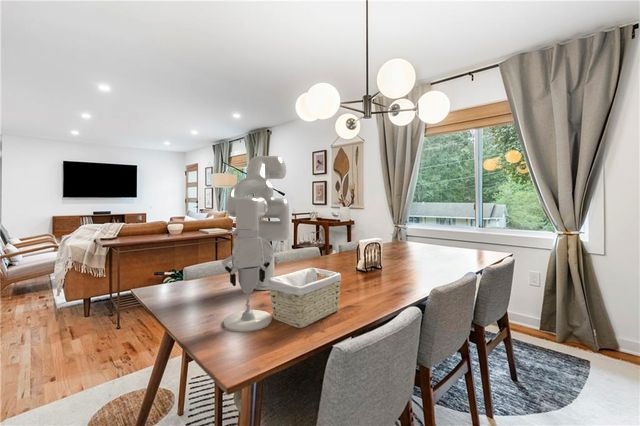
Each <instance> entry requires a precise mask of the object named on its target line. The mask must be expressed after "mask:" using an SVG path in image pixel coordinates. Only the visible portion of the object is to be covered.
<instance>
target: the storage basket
mask: <svg viewBox="0 0 640 426" xmlns="http://www.w3.org/2000/svg"><path fill="white" fill-rule="evenodd" d="M319 277H323V279H319ZM341 281H342V275H341V273H340V272H336V271H332V270H327V269H322V268H317V267H316V268H315V267H308V268H305V269H300V270H298V271H294V272H290V273H286V274H282V275H277V276H275V277H274V278H270V279H269V281H268V282H269V295H270V302H271V304H270V305H271V310H272V312H271V313H272V318H273V319H274V320H276V321H279V322H281V323H283V324H286V325H289V326H291V327H294V328H298V329H303V328H305V327H308V326H309V325H312V324H313V323H315V322H317V321H319V320H322V319H323V318H325V317H328V316H330V315H331V314H334V313H335V312H337V311H339V309H340V308H339V307H340V304H339V303H340V294H341V291H340V290H341V284H342V283H341Z"/></svg>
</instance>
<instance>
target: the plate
mask: <svg viewBox="0 0 640 426" xmlns="http://www.w3.org/2000/svg"><path fill="white" fill-rule="evenodd" d="M251 310H252V311H253V312H254V315H255V317H256V318H255V319H254V320H251V321H243V320H241V317H242V314H243V312H244V311H246V309H245V310H240V311H236V312H233V313H231V314H228V315H227V316H225V318H223V319H224V320H223V327H224V328H225V329H226V330H229V331H232V332H237V333H248V332H255V331H259V330H261V329H264V328H266V327H268V326H269V325H271V323H272V315H271V314H270V313H269V312H268V311H265V310H259V309H251Z"/></svg>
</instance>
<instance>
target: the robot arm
mask: <svg viewBox="0 0 640 426" xmlns="http://www.w3.org/2000/svg"><path fill="white" fill-rule="evenodd" d="M246 171H247V172H246V175H245V177H244V178H243V179H241V180H239V181H238V182H237V183H235V185H233V186H232V188H231V189H230V191H229V194H228V196H227V197H228V198H227V202H226V211H227V214H228V216H230V217H233V218H235V230H231V235H232V236H235V237H234V238H233V242H232V251H231V253H232V254H231V255H230V256H228V257H226V258H225V259H223V260H221V263H220V264H221V265H222V266H223V268H224V270H225V271H227V273H228V274H229V282H230V284H231V285H232V286H233V287H236V285H237V279H236V278H237V277H236V276H237V275H236V271H237V270H238V269H243V268H252V267H258V268H257V282H256V285H255V287H254V289H253V290H257V291H259V290H260V291H268V290H269V282H268V281H269V279H270V278H274V277H276V276H275V249H274V247H273V245H272V244H271V243H270V242H283V241H287V240H289V236H290V206H289V202H288V200H287V199H286V198H282V197H281V198H279V197H278V198H277V197H274V186H273V185H272V183H271V182H270V181H269V180H283V179H284V178H285V177H286V174H287V165H286V163H285V161H284V159H283V158H282V157H281V156H278V155H255V156H253V157H252V158H251V159H250V160H249V163H248V165H247V170H246ZM254 194H255V196H250V195H254ZM259 218H260V219H261V218H262V219H279V220H259ZM230 262H231V264H232V266H231V267H229V266H228V265H229V264H228V263H230ZM269 291H270V290H269Z"/></svg>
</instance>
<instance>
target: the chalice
mask: <svg viewBox="0 0 640 426" xmlns="http://www.w3.org/2000/svg"><path fill="white" fill-rule="evenodd" d="M257 268H258V267H252V268H243V269H237V270H238V271H237V272H238V273H237V274H238V284H239V286H240V288H241V290H242V292H243V293H244V294H246V297H245V301H246V303H245V304H244V305H245V306H246V309H245V310H246V311H245V310H243V311H244V312H243V314H242V317H241V320H243V321H251V320H254V319H255V318H256V317H255V315H254V312H253V311H252V310H253V309H250V306H251V303H250V300H251V298H250V294H251V293H253V291H254V290H255V289H254V287H255V285H256V282H257Z"/></svg>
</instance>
